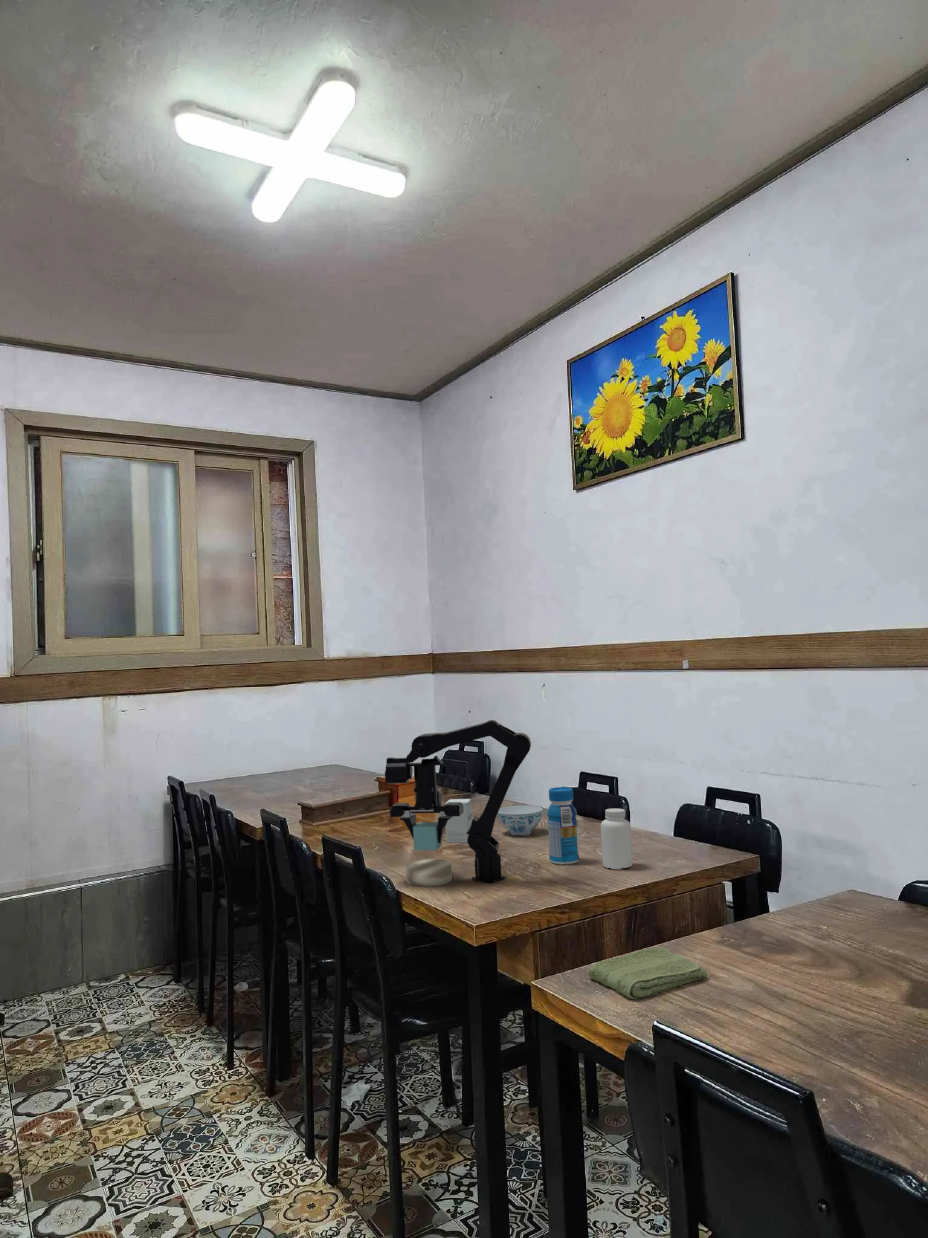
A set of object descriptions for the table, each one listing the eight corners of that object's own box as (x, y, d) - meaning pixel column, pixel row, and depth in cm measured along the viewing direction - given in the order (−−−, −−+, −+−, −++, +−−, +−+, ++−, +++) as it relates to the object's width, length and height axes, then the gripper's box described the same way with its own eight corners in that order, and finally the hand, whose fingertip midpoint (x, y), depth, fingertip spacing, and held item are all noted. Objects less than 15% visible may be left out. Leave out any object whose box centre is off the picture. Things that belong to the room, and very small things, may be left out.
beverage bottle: (544, 864, 223) (540, 790, 224) (555, 857, 230) (552, 786, 231) (573, 866, 219) (569, 791, 220) (583, 859, 226) (580, 787, 228)
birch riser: (461, 878, 212) (460, 863, 212) (430, 890, 202) (429, 874, 203) (428, 872, 219) (427, 857, 220) (396, 882, 210) (395, 867, 210)
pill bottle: (638, 865, 217) (635, 809, 218) (622, 872, 211) (619, 813, 212) (613, 861, 222) (610, 806, 223) (596, 867, 216) (593, 811, 217)
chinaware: (513, 827, 275) (512, 804, 275) (552, 831, 266) (551, 807, 266) (488, 836, 263) (487, 812, 263) (528, 840, 254) (527, 815, 254)
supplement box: (468, 843, 253) (467, 802, 254) (445, 843, 255) (444, 802, 255) (473, 838, 260) (471, 798, 261) (450, 838, 262) (449, 798, 262)
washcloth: (712, 981, 139) (711, 962, 139) (632, 1006, 130) (631, 985, 130) (659, 958, 150) (658, 941, 150) (583, 980, 142) (582, 961, 142)
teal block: (442, 845, 214) (441, 822, 214) (436, 850, 208) (435, 826, 208) (420, 845, 215) (419, 822, 215) (414, 850, 209) (413, 826, 209)
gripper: (466, 777, 218) (469, 836, 217) (399, 779, 222) (402, 836, 221) (457, 784, 207) (460, 845, 207) (387, 785, 211) (390, 845, 210)
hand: (428, 843), depth 211 cm, fingers closed on teal block, 6 cm apart
